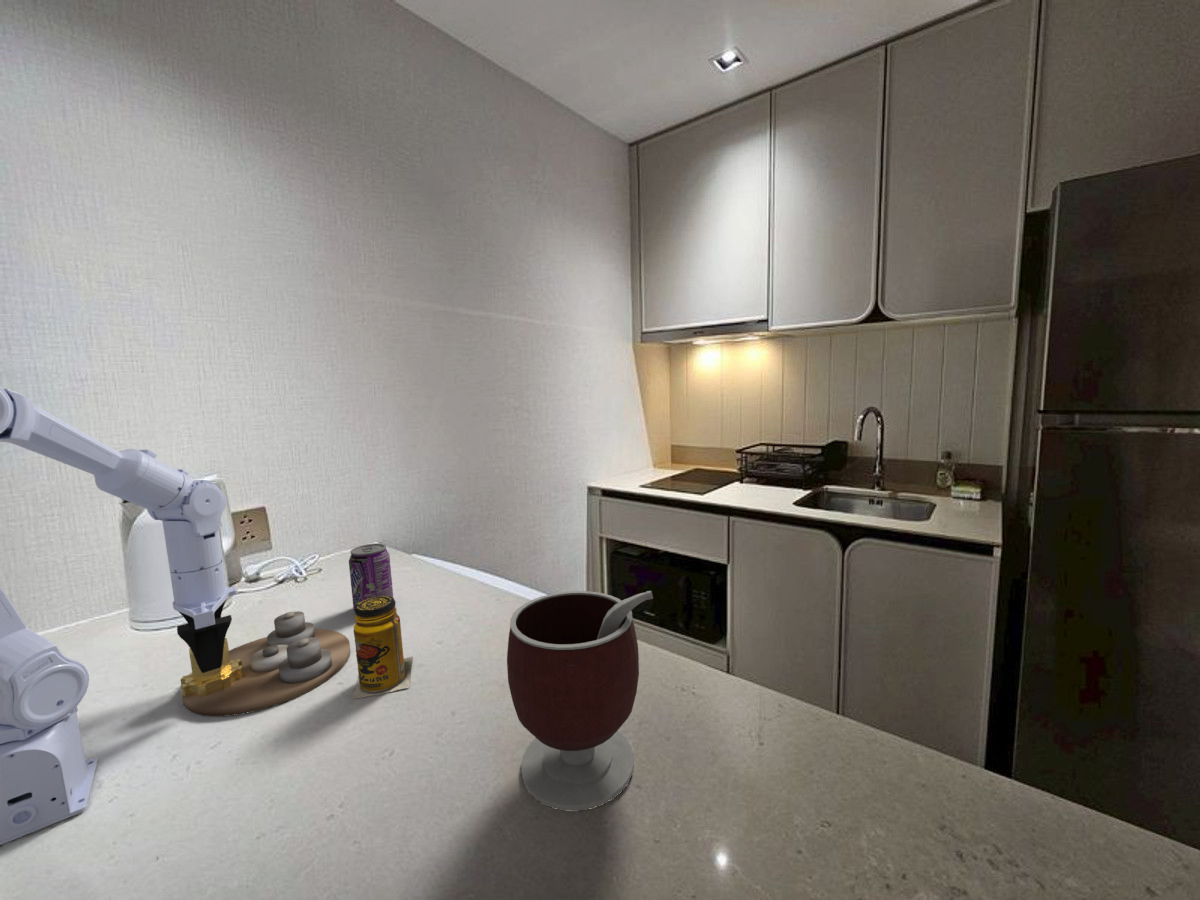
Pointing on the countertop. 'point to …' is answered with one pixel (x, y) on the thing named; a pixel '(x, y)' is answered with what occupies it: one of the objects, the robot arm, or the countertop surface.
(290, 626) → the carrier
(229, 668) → the brass gear
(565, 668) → the mate gourd
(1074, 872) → the countertop surface
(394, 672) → the condiment
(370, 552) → the beverage can
